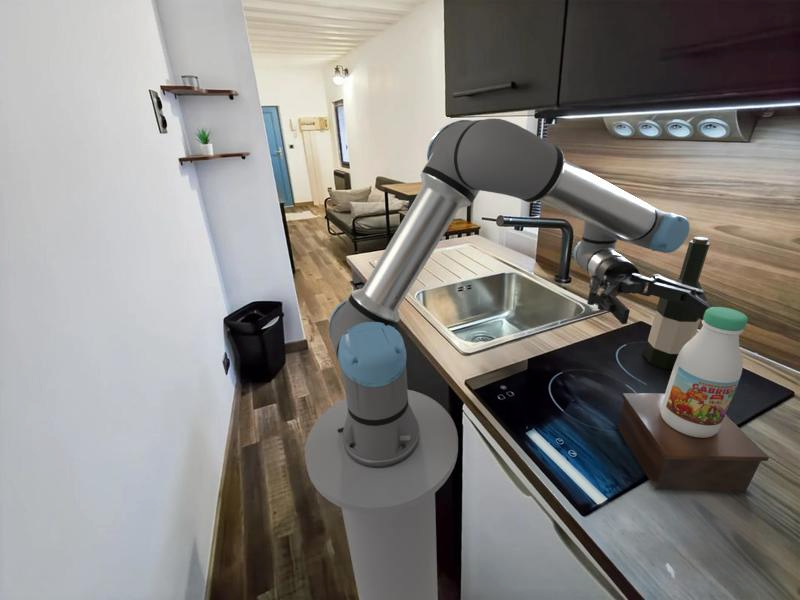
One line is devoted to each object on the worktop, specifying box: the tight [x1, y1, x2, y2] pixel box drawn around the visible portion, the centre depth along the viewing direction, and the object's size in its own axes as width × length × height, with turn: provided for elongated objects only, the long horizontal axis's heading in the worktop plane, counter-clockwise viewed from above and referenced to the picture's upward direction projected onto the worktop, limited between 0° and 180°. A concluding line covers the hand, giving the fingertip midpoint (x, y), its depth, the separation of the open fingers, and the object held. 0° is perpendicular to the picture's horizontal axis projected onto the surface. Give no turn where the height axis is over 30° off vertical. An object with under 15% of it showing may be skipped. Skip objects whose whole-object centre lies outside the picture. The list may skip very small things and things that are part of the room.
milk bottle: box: [660, 306, 749, 438], centre depth 55 cm, size 8×8×20 cm
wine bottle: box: [643, 236, 711, 370], centre depth 81 cm, size 8×8×30 cm
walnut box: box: [616, 392, 770, 493], centre depth 61 cm, size 14×14×8 cm
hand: (668, 316), depth 62 cm, fingers open, 13 cm apart
